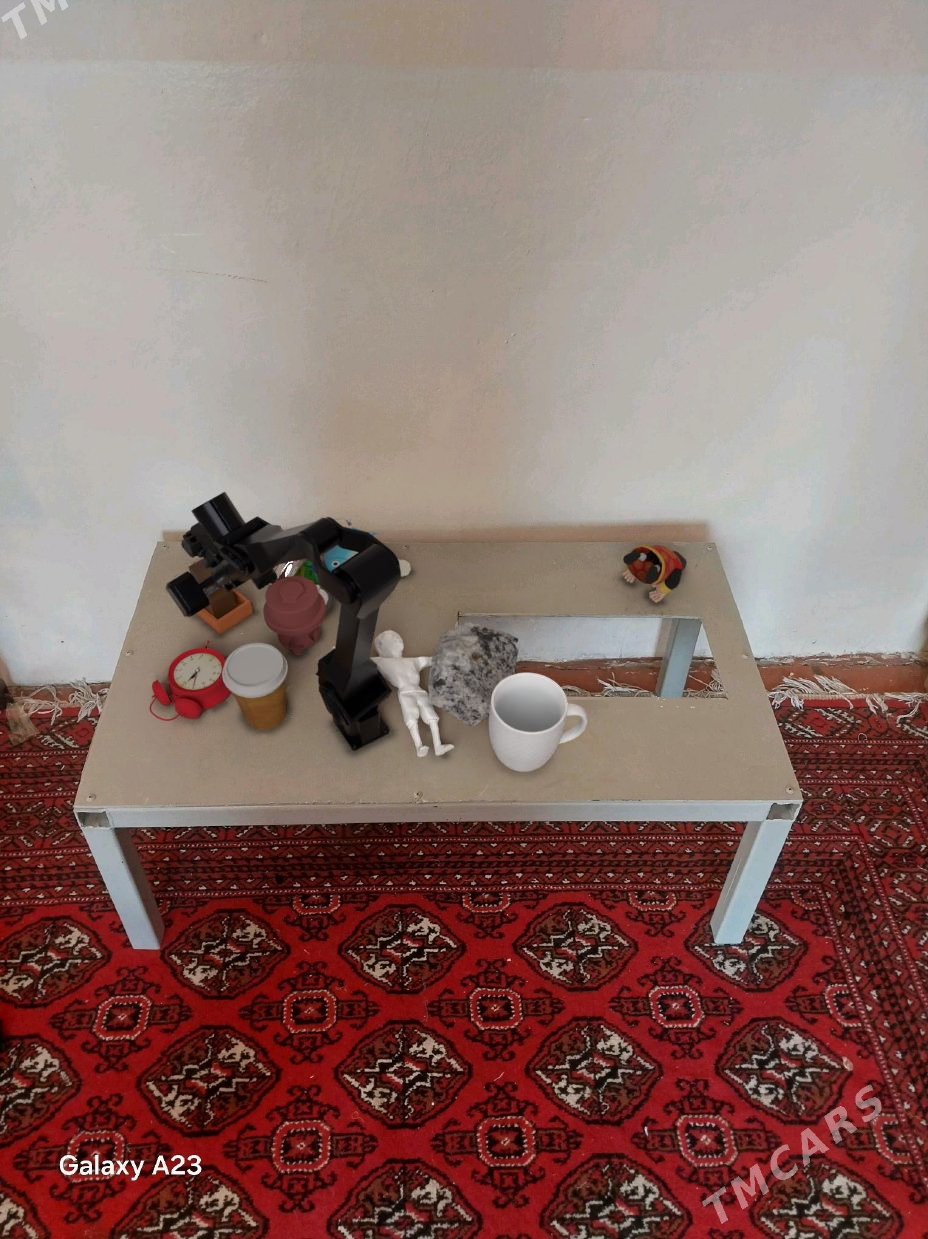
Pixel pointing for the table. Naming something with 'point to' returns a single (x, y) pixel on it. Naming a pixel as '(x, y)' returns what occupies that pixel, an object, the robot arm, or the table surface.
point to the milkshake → (288, 569)
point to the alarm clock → (193, 683)
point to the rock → (470, 669)
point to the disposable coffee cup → (258, 683)
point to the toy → (339, 555)
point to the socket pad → (228, 614)
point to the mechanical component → (294, 612)
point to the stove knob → (326, 597)
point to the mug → (530, 720)
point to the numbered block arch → (308, 572)
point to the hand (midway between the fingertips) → (211, 578)
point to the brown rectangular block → (219, 598)
